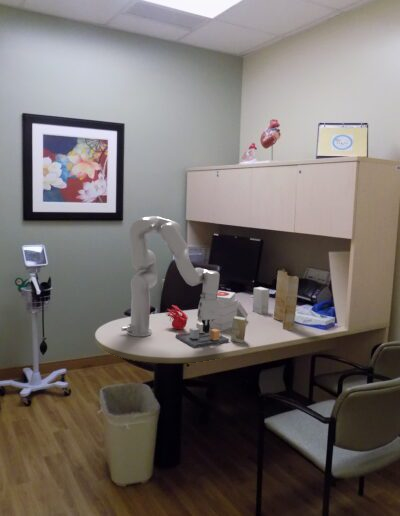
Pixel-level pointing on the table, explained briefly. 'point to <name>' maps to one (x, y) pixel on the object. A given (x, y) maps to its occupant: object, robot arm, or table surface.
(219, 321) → the pizza boxes
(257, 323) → the table surface
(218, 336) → the orange slider
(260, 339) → the table surface
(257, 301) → the skincare box
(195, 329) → the grey slider
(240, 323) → the skincare box
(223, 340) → the panel
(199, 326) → the ivory slider
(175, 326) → the heart organ
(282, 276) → the parchment
